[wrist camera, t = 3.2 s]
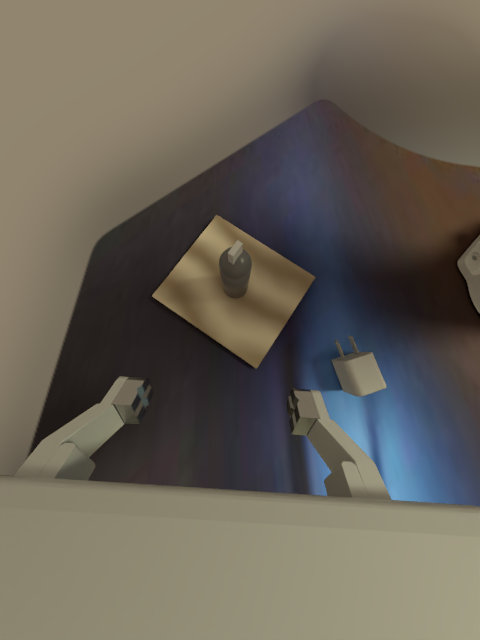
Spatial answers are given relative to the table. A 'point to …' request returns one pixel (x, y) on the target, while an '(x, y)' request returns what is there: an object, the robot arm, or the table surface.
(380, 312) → the table surface
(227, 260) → the dark bottle
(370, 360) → the usb wall charger
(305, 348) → the table surface
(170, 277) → the birch board
